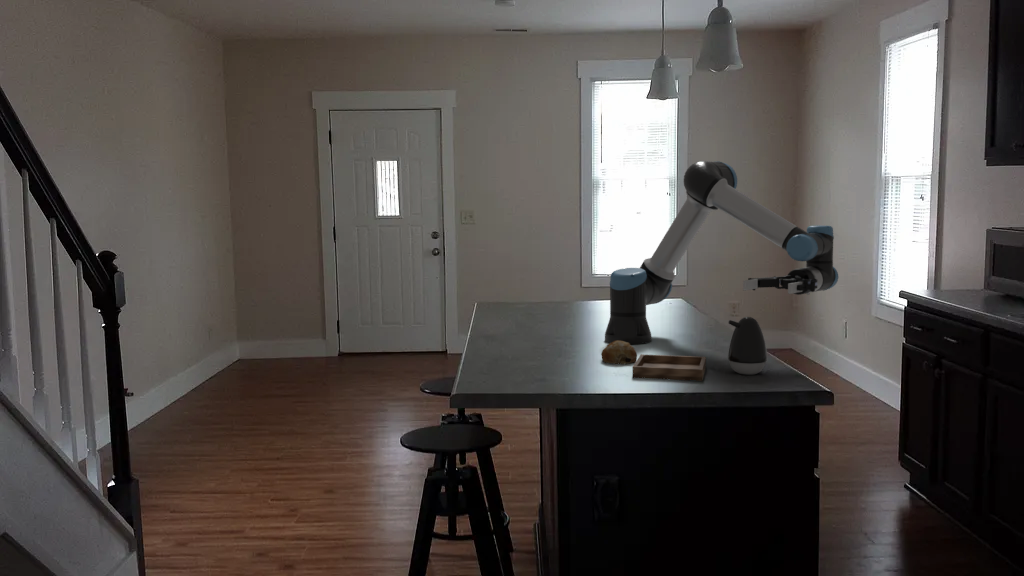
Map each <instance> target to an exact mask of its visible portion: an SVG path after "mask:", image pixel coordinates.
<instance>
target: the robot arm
mask: <svg viewBox="0 0 1024 576" xmlns="http://www.w3.org/2000/svg"><path fill="white" fill-rule="evenodd" d="M683 186H684V190H685V194H686V200H685V201H684V203H683V205H682V206H681V208H680V209H679V211H678V213H677V215H676V217H675V218H674V219H673V222H672V223H671V225H670V226H669V228H668V230H667V231H666V233H665V234H664V236H663V237H662V239H661V241H660V243H659V244H658V246H657V248H656V250H655V251H654V253H653V254H652V256H651V257H648V258H645V259H644V260H643V262H642V263H641V265H640V267H626V268H620V269H619V268H618V269H616V270H614V271H612V272H611V274H610V278H609V279H610V280H609V292H610V293H609V313H610V314H609V315H610V317H609V320H608V323H607V327H606V330H605V332H604V341H605V342H606V343H607V342H608V343H609V344H610V343H612V342H614V341H624V342H626V343H627V342H628V343H630V345H641V344H647V343H650V342H652V331H651V329H650V327H649V323H648V319H647V306H650V305H655V304H659V303H661V302H662V301H664V300H666V299H667V298H668V297H669V295H670V294H671V292H672V289H673V284H672V283H673V281H674V280H675V276H676V275H675V272H674V270H675V269H676V267H677V266H678V264H679V263H680V261H681V260H682V259H683V256H684V255H685V253H686V251H687V250H688V249H689V248H690V246H691V244H692V242H693V240H694V238H696V235H697V234H698V232H699V231H700V229H701V228H702V226H703V225H704V223H705V221H706V219H707V218H708V216H709V215H710V213H712V212H714V211H715V212H717V210H720V211H721V212H723V213H725V214H727V215H728V216H730V217H731V218H732V219H735V220H736V221H737V222H740V223H741V224H742V225H745V226H746V227H748V229H750V230H752V231H754V232H755V233H757V234H758V235H760V236H761V237H763V238H765V239H766V240H768V241H770V242H771V243H772V244H774V245H776V246H778V247H779V248H781V249H782V250H784V251H786V252H787V255H788V256H789V257H790V258H791V259H792V260H794V261H797V262H806V265H805V267H799V268H794V269H792V270H790V271H789V273H788V274H787V275H783V276H776V275H774V276H769V277H768V276H767V277H748V279H746V280H742V282H743V283H742V291H751V290H752V291H756V290H757V289H759V288H760V289H761V288H775V289H777V290H778V289H779V290H781V289H783V290H784V289H785V290H787V294H789V295H791V294H794V295H797V296H799V295H805V294H806V295H807V296H808V295H810V294H811V293H814V292H820V291H823V292H824V291H827V290H830V289H832V288H834V287H835V286H836V284H837V283H838V281H839V272H838V270H837V269H836V267H835V266H834V239H835V236H834V228H833V226H831V225H809V226H808V227H807V228H806V231H805V230H803V229H802V228H800V227H798V226H797V225H795V224H794V223H792V222H790V221H789V220H787V219H786V218H784V217H783V216H781V215H779V214H778V213H775V212H774V211H772V210H771V209H770V208H768V207H766V206H764V205H763V204H761V203H760V202H758V201H756V200H754V199H753V198H751V197H749V196H748V195H746V194H745V193H743V192H742V191H739V190H738V189H737V187H738V176H737V172H736V171H735V169H734V168H733V167H732V165H729V164H728V163H726V162H722V161H718V160H717V161H706V160H705V161H704V160H700V161H696V162H695V163H692V164H691V165H690V166H689V167H688V168H687V169H686V171H685V172H684V175H683Z"/></svg>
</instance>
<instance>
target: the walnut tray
mask: <svg viewBox="0 0 1024 576" xmlns="http://www.w3.org/2000/svg"><path fill="white" fill-rule="evenodd" d="M706 368H707V356H699V355H698V356H694V355H673V354H672V355H671V354H669V355H668V354H667V355H666V354H642V353H641V354H640V355H639V356H638V357H637V360H636V362H635V363H633V365H632V379H645V380H653V379H654V380H668V379H670V380H671V381H672V380H674V381H690V380H696V381H695V382H703V379H704V376H705V373H706Z"/></svg>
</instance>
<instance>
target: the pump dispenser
mask: <svg viewBox="0 0 1024 576" xmlns="http://www.w3.org/2000/svg"><path fill="white" fill-rule="evenodd" d="M728 324H729V325H731V326H732V327H734V329H733V331H732V334H731V337H730V341H729V346H728V351H727V360H728V361H729V365H730V367H731V368H732V370H733V371H734V372H736V373H738V374H739V375H747V376H749V375H750V376H751V375H752V376H753V375H757V374H759V373H760V372H762V370H764V368H765V365H766V363H767V362H768V350H767V344H766V339H765V336H764V333H763V330H762V327H761V326H760V324H759V322H758V321H757V319H755V318H754V317H751V316H744V317H742V318H740V319H739V321H738V322H737V321H735V320H731V319H729V320H728Z"/></svg>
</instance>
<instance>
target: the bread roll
mask: <svg viewBox="0 0 1024 576" xmlns="http://www.w3.org/2000/svg"><path fill="white" fill-rule="evenodd" d="M600 355H601V360H602V362H603V363H605V364H610V365H620V366H624V365H631V364H635V362H636V361H637V359H638V354H637V351H636V348H634V346H632V344H630V343H628V342H627V343H626V342H624V341H614V342H612V343H610V342H609V343H608V344H607V345H606V346H605V347H604V348H603V349H602V351H601V354H600Z"/></svg>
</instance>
